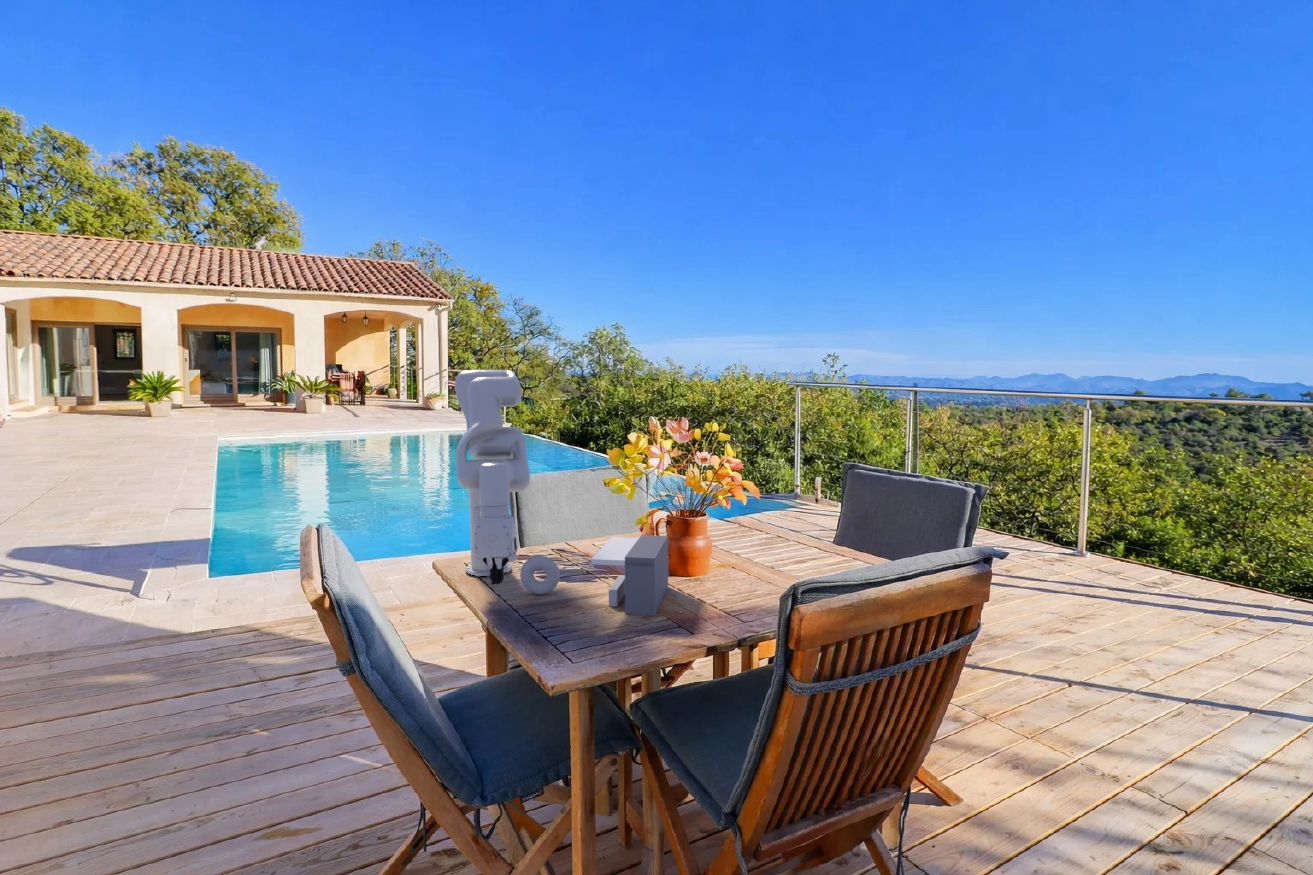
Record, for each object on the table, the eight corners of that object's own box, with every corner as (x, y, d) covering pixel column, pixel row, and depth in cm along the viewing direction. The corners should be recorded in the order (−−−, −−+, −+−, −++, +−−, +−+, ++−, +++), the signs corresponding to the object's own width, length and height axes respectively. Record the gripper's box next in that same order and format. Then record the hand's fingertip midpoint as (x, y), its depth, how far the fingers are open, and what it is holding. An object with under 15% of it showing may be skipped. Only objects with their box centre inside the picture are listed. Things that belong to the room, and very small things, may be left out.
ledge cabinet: (611, 584, 186) (611, 534, 185) (668, 586, 184) (668, 536, 183) (591, 612, 165) (590, 555, 163) (654, 615, 162) (654, 558, 161)
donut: (519, 596, 176) (518, 557, 175) (522, 592, 180) (521, 553, 179) (559, 596, 176) (558, 557, 175) (561, 592, 180) (560, 553, 179)
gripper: (460, 513, 175) (462, 586, 176) (518, 514, 173) (520, 588, 174) (473, 508, 182) (475, 578, 184) (528, 509, 180) (530, 580, 181)
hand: (497, 583), depth 179 cm, fingers closed
